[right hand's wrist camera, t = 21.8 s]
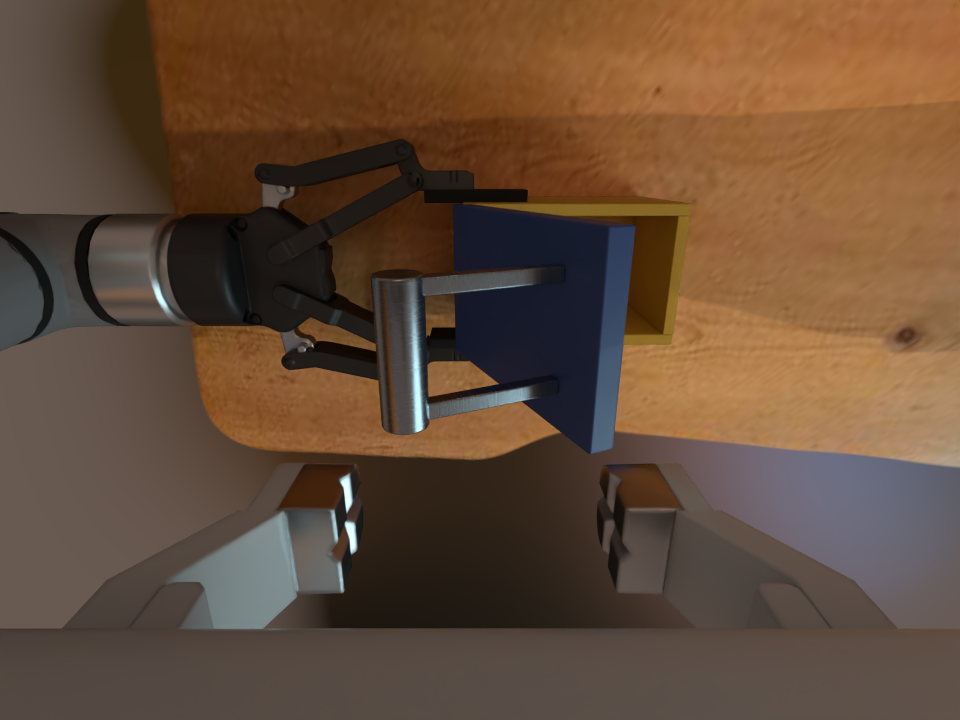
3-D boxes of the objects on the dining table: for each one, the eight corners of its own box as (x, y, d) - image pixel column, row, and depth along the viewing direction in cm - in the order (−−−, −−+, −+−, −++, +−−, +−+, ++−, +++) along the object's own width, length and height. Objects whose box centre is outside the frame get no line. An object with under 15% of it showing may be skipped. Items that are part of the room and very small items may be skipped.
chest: (641, 196, 40) (692, 203, 31) (630, 308, 43) (672, 344, 34) (464, 196, 40) (462, 203, 31) (465, 309, 43) (463, 345, 34)
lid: (636, 224, 18) (390, 237, 14) (613, 449, 21) (406, 504, 18) (471, 204, 30) (316, 207, 27) (472, 347, 33) (333, 368, 30)
